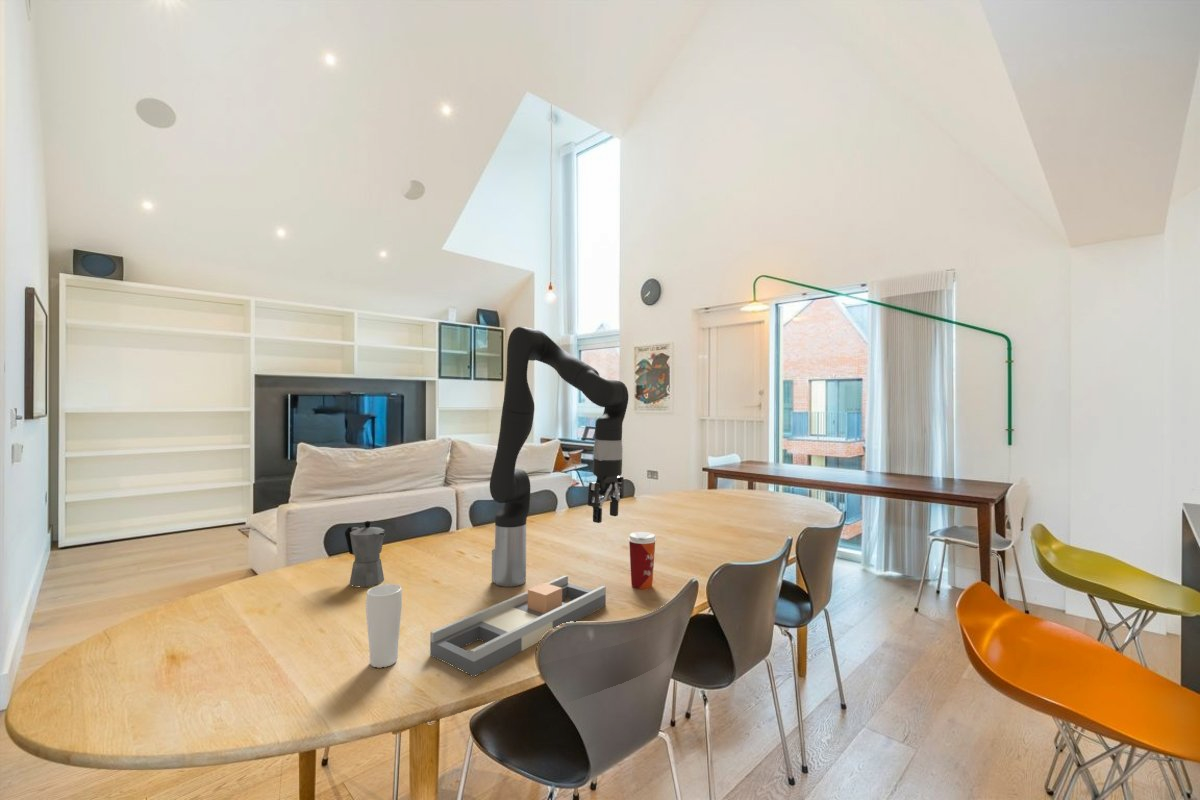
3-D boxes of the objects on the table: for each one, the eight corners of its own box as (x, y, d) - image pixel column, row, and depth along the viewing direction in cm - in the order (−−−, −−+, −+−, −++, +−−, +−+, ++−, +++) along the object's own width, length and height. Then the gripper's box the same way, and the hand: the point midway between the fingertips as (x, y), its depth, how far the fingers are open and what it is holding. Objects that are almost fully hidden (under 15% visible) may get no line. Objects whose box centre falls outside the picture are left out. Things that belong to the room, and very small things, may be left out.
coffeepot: (396, 580, 153) (396, 520, 153) (370, 591, 144) (371, 527, 144) (358, 573, 159) (358, 514, 159) (331, 582, 150) (332, 521, 150)
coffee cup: (654, 592, 145) (655, 539, 145) (625, 590, 147) (626, 537, 147) (657, 582, 153) (657, 532, 153) (629, 580, 155) (630, 530, 155)
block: (544, 600, 131) (544, 582, 131) (562, 606, 128) (562, 587, 128) (527, 607, 126) (527, 589, 126) (545, 614, 123) (545, 595, 123)
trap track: (565, 593, 144) (565, 575, 144) (605, 605, 136) (605, 586, 136) (430, 655, 109) (430, 631, 109) (473, 677, 100) (474, 651, 100)
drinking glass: (391, 651, 110) (391, 581, 110) (407, 661, 106) (408, 589, 106) (359, 663, 105) (360, 590, 105) (376, 674, 101) (376, 598, 101)
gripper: (609, 453, 141) (607, 511, 142) (580, 458, 129) (578, 522, 129) (633, 455, 137) (631, 516, 138) (606, 461, 125) (604, 527, 126)
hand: (605, 519), depth 134 cm, fingers open, 8 cm apart
